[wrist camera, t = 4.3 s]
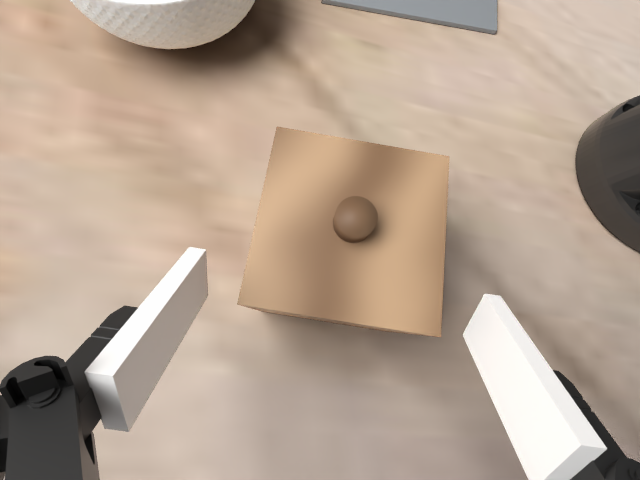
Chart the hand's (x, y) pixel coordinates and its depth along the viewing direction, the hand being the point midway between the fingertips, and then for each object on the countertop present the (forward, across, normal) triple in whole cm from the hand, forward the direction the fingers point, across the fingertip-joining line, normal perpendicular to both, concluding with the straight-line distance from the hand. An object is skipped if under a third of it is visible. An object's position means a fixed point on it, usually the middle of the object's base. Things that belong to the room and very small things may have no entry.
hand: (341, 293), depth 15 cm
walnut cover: (+9, 0, +4) cm, 10 cm away
